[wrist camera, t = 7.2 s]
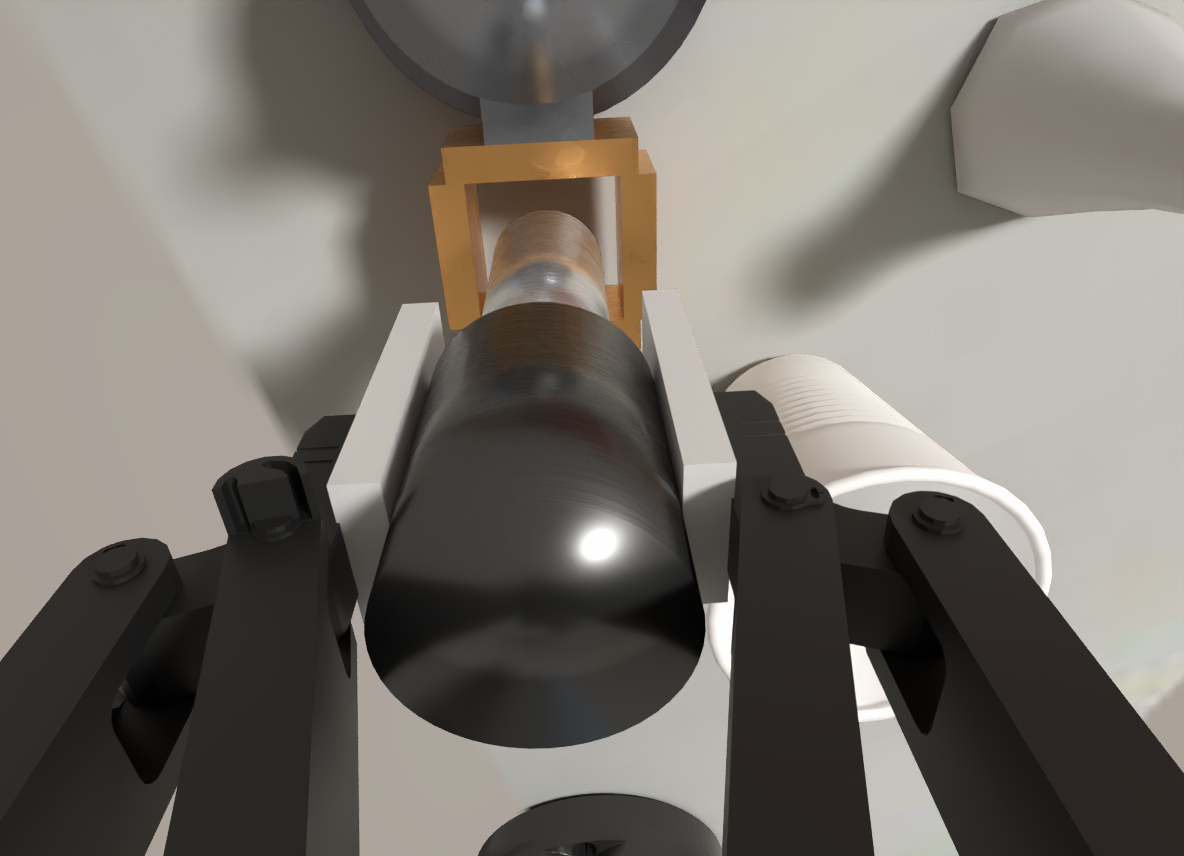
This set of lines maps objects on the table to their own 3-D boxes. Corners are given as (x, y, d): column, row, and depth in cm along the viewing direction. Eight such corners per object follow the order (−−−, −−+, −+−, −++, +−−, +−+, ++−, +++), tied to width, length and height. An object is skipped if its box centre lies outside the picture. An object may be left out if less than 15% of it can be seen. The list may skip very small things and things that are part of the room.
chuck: (348, -271, 19) (178, -446, 11) (674, -287, 19) (771, -473, 11) (440, 321, 28) (387, 496, 19) (670, 309, 28) (722, 477, 19)
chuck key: (654, 284, 23) (762, 669, 11) (527, 360, 24) (498, 785, 12) (570, 150, 21) (588, 442, 9) (435, 241, 22) (290, 609, 10)
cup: (909, 489, 34) (1042, 693, 25) (684, 534, 35) (731, 748, 26) (905, 277, 29) (1069, 435, 20) (642, 336, 30) (681, 514, 21)
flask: (974, -18, 24) (1197, 6, 16) (1203, -19, 25) (1545, 4, 16) (923, 215, 28) (1081, 335, 20) (1122, 213, 28) (1364, 330, 20)
